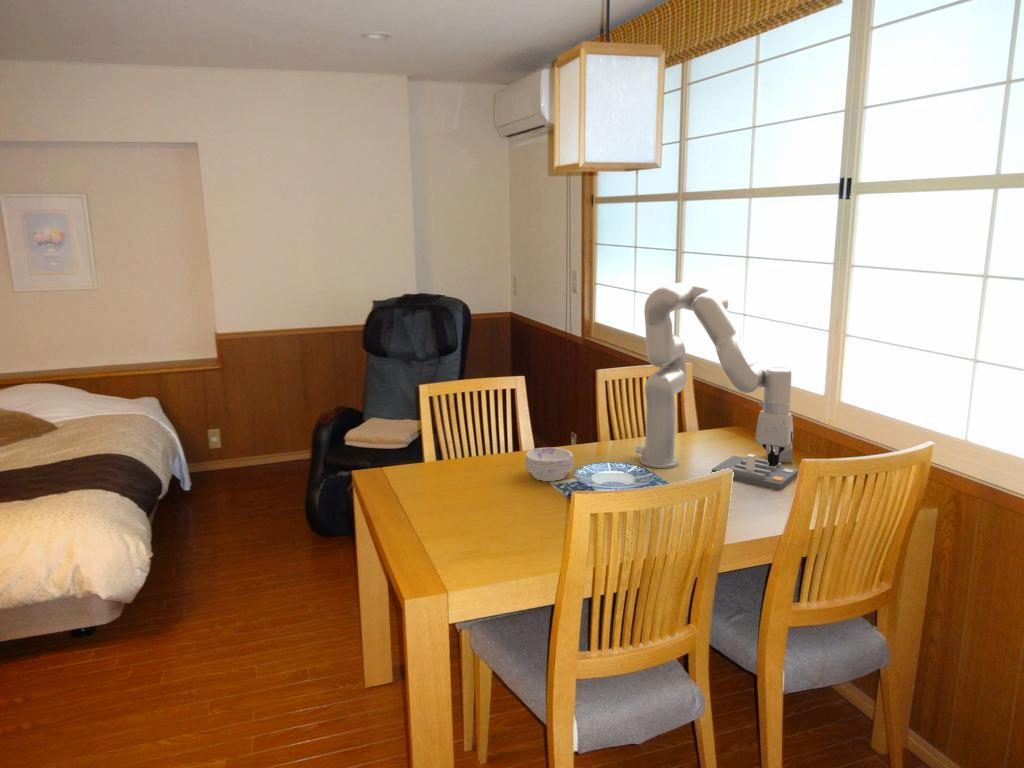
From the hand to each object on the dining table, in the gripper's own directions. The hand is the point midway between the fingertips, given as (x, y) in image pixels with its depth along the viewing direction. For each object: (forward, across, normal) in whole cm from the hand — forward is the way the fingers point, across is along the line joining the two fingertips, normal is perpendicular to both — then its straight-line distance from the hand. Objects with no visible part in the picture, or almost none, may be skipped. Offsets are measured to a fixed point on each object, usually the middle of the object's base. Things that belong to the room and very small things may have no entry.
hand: (773, 465), depth 228 cm
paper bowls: (+5, -58, -38) cm, 69 cm away
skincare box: (+6, -7, +24) cm, 26 cm away
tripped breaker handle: (+4, -7, 0) cm, 8 cm away
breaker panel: (+6, -7, +4) cm, 10 cm away
